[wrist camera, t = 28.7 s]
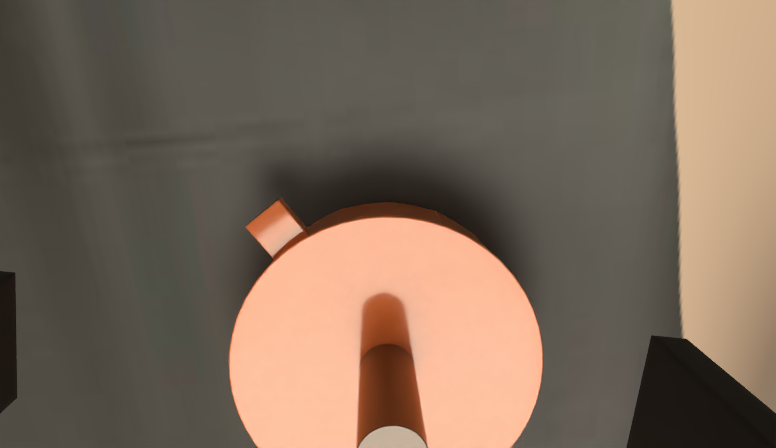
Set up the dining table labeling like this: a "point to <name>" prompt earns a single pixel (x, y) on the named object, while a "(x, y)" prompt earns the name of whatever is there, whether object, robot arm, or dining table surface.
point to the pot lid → (386, 342)
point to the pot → (327, 222)
